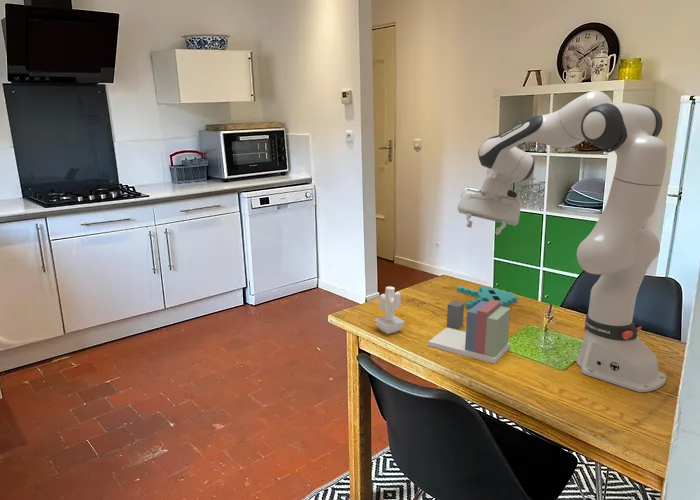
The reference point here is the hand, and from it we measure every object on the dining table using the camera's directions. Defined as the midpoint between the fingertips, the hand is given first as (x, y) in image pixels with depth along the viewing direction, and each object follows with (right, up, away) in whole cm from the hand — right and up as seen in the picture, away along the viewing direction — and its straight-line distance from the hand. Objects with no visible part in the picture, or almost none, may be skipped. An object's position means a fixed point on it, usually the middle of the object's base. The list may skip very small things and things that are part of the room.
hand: (482, 230), depth 175 cm
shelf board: (-7, -36, -13) cm, 39 cm away
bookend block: (-9, -32, +2) cm, 33 cm away
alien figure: (+9, -26, +27) cm, 39 cm away
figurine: (-31, -33, -1) cm, 45 cm away
